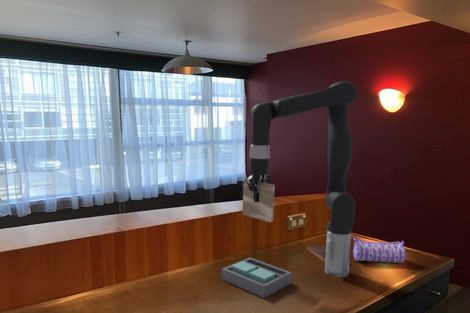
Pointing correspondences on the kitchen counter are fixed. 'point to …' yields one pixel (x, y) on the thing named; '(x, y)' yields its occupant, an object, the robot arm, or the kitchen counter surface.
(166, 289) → the kitchen counter surface
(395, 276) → the kitchen counter surface
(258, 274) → the offcut
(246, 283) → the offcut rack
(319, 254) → the wooden tablet
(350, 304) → the kitchen counter surface
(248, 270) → the offcut
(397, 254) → the pencil case
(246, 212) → the birch sheet
